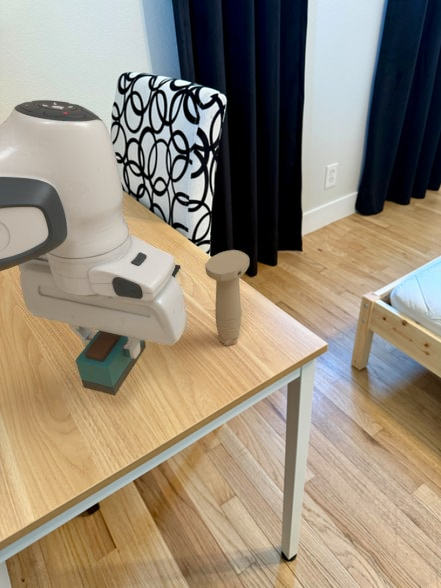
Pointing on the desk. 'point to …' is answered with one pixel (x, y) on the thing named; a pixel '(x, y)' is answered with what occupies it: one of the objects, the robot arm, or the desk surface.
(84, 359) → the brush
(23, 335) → the desk surface
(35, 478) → the desk surface
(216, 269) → the handle
